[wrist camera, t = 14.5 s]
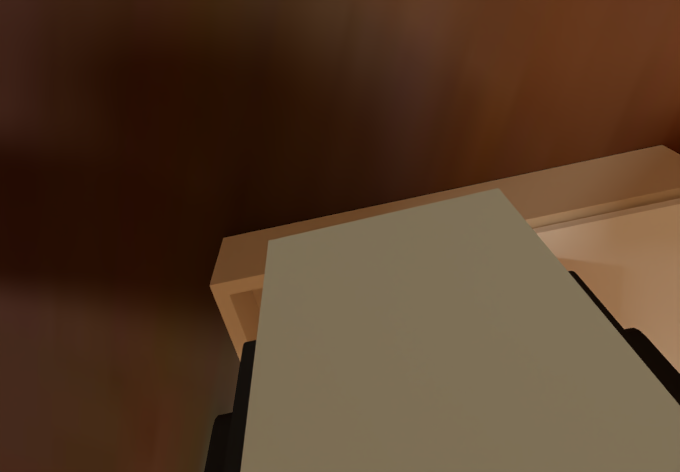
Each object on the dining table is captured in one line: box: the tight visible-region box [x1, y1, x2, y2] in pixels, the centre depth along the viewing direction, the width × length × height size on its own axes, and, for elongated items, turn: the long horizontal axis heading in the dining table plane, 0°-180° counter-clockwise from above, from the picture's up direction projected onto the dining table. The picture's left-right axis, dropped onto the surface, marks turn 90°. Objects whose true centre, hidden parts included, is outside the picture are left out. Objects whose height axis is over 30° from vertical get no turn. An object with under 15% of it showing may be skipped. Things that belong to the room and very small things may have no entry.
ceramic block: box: [240, 188, 680, 472], centre depth 9 cm, size 5×5×7 cm
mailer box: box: [209, 145, 680, 361], centre depth 31 cm, size 14×26×5 cm, turn 102°
